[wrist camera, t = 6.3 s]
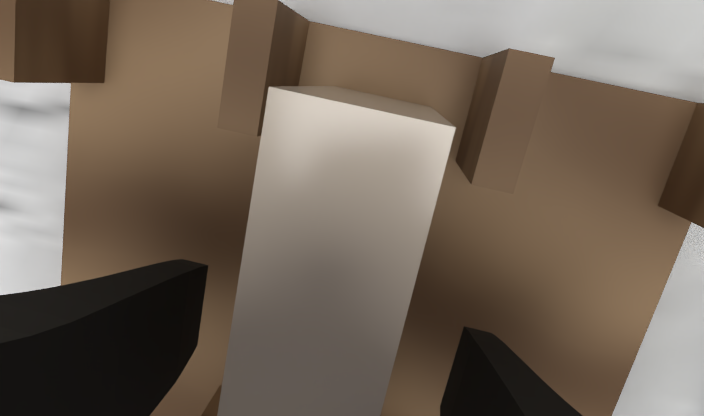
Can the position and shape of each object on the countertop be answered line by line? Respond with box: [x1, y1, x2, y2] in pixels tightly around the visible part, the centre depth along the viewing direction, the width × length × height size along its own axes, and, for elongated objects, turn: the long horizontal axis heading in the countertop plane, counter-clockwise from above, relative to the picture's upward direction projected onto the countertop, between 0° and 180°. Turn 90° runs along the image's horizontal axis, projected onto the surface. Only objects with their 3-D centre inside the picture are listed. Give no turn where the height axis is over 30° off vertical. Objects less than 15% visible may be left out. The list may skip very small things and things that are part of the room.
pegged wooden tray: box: [0, 0, 704, 416], centre depth 12 cm, size 13×16×4 cm
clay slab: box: [217, 86, 456, 416], centre depth 10 cm, size 10×2×6 cm, turn 168°
